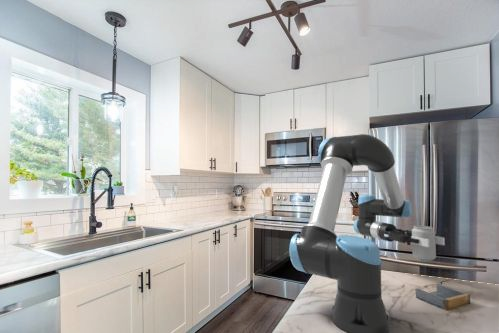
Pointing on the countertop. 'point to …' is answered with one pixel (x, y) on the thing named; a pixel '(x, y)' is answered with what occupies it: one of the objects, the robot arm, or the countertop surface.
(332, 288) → the countertop surface
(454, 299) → the open rectangular tray
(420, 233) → the can
